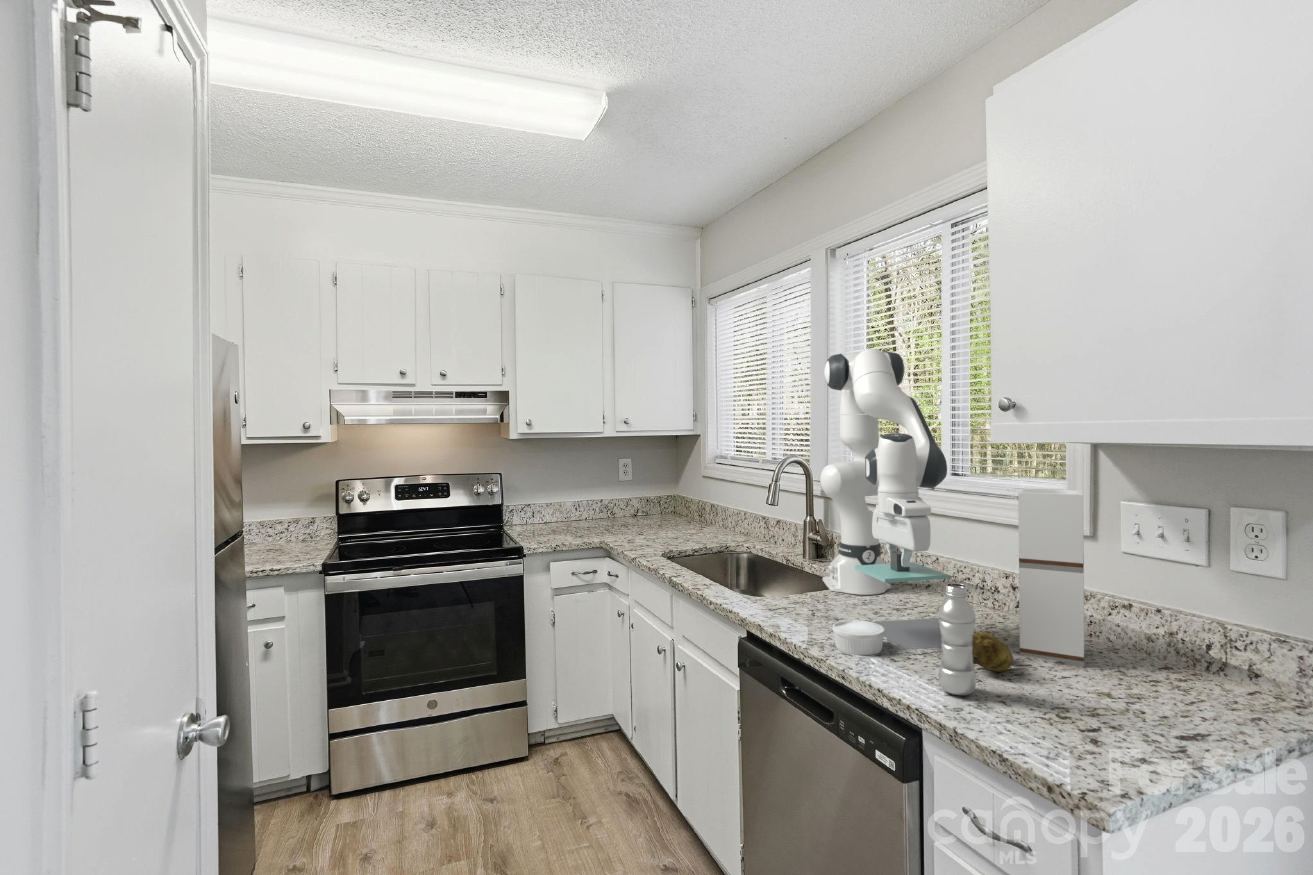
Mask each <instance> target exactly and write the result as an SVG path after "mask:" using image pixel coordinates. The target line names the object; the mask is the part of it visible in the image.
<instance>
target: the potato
mask: <svg viewBox="0 0 1313 875" xmlns="http://www.w3.org/2000/svg"><path fill="white" fill-rule="evenodd" d="M972 646H973V647H972V653H973V663H974V665H978V666H980V667H982V668H983V669H987V670H991V671H993V672H999V673H1001V672H1006V671H1008V670H1009V669H1010V668H1011V666H1012V665H1013V662H1014V657H1013V656H1014V655H1013V654H1012V651H1011V649H1010V648H1009V647H1008V645H1006V644H1005V643H1004V642H1002V641H1001V640H1000V639H998V638H997V637H996V636H994V635H993V634H990V633H988V632H977V633H973V644H972Z"/></svg>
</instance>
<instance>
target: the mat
mask: <svg viewBox="0 0 1313 875" xmlns="http://www.w3.org/2000/svg"><path fill="white" fill-rule="evenodd" d="M871 622H872V623H876V624H879V625H881V626H882V627H883V628H884V629H885V634H884V637H883V638H886V639H888V640H889V641H891V642H892V643H893V644H895V645H896V646H898V648H901V649H902V650H905V651H906V650H918V649H919V650H920V649H931V648H932V649H933V648H934V649H935V648H942V641H941V630H940V624H939V617H937V618H936V617H934V618H916V619H902V620H901V619H898V620H883V621H871Z"/></svg>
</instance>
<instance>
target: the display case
mask: <svg viewBox="0 0 1313 875" xmlns="http://www.w3.org/2000/svg"><path fill="white" fill-rule="evenodd" d="M1021 490H1022V492H1018V494H1017V495H1018V496H1017V498H1018V499H1017V500H1018V503H1017V504H1018V505H1017V506H1018V509H1017V510H1018V514H1017V517H1018V588H1019V589H1018V594H1019V595H1018V596H1019V598H1018V599H1019V602H1018V603H1019V606H1018V609H1019V611H1018V612H1019V655H1021V656H1025V657H1026V656H1027V657H1032V658H1039V659H1046V660H1052V661H1054V662H1052V663H1053V664H1061V665H1066V666H1071V667H1072V666H1073V667H1079V668H1085V648H1086V647H1085V578H1084V577H1085V574H1084V573H1085V564H1084V563H1085V562H1084V561H1085V560H1084V559H1085V555H1084V549H1085V548H1084V547H1085V546H1084V545H1085V543H1084V542H1085V540H1084V539H1085V538H1084V534H1085V533H1084V489H1058V488H1057V489H1053V488H1025V487H1024V488H1022V489H1021ZM1055 661H1056V662H1055Z"/></svg>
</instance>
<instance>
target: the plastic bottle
mask: <svg viewBox="0 0 1313 875" xmlns="http://www.w3.org/2000/svg"><path fill="white" fill-rule="evenodd" d="M944 595H945V596H946V598H945V599H944V600H943V601H942V603H941V605H940V606H938V607H939V608H938V611H937V616H938V617H937V618H939V624H940V630H941V641H942V647H941V651H940V652H941V654H940V664H939V669H938V675H937V676H938V681H939V685H940V687H941V689H942V690H943V691H944V692H945V693H948V694H951V695H956V696H970V695H972V694H973V692H974V691H975V690H976V687H977V675H976V670H975V666H974V665H975V664H974V663H973V653H972V647H973V646H972V644H973V634H974V632H975V625H976V624H975V622H976V614H975V610H974V608H973V607H972V605H971V603H969V601H968V599H967V597H968V587H967V585H966V584H963V583H957V582H956V583H955V582H950V583H946V584H945V591H944Z"/></svg>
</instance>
